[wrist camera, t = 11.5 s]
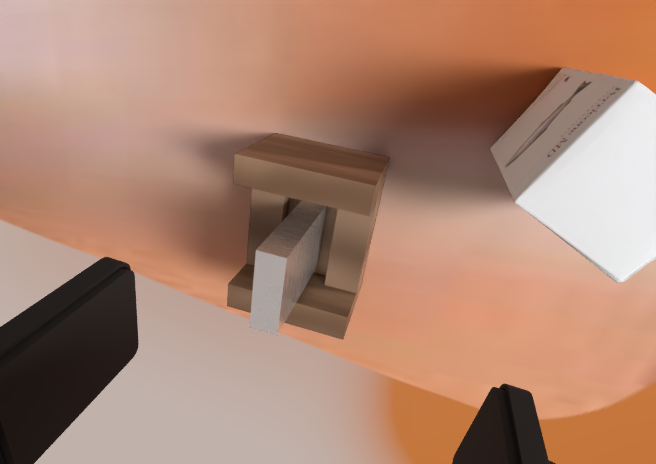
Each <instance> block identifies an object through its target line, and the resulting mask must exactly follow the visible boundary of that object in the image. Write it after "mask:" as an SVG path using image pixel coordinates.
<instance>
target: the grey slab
mask: <svg viewBox="0 0 656 464" xmlns="http://www.w3.org/2000/svg"><path fill="white" fill-rule="evenodd" d="M326 210H327V206H324V205H320V204H315V203H311V202H307V201H303V200H302V201H301V202H300V203H299V204H298V205H297V206H296V207H295V208H294V209H293V211H292V212H291V213H290V214H289V215H288V216H287V217H286V218H285V219H284V220H283V221H282V222H281V224H280V225H279V226H278V227H277V228H276V229H275V230H274V231H273V232H272V233H271V234H270V235H269V236H268V238H267V239H266V240H265V241H264V242H263V243H262V244H261V245H260V246H259V247H258V248H257V249H256V255H255V267H254V279H253V291H252V303H251V315H250V328H254V329H257V330H260V331H264V332H267V333H270V334H274V335H278V333H279V332H280V330H281V328H282V326H283V325H284V323H285V321H286V320H287V318H288V316H289V314H290V313H291V311H292V309H293V307H294V306H295V304H296V302H297V300H298V299H299V297H300V295H301V293H302V292H303V290H304V288H305V286H306V285H307V283H308V281H309V279H310V278H311V276H312V274H313V272H314V271H315V269H316V267H317V265H318V260H319V253H320V247H321V241H322V235H323V229H324V223H325V217H326Z"/></svg>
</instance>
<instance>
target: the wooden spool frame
mask: <svg viewBox="0 0 656 464" xmlns="http://www.w3.org/2000/svg"><path fill="white" fill-rule="evenodd" d="M389 158H390V157H386V156H381V155H376V154H372V153H367V152H362V151H358V150H353V149H348V148H344V147H339V146H334V145H330V144H325V143H320V142H315V141H311V140H306V139H301V138H297V137H292V136H287V135H283V134H278V133H275V134H273V135H271V136H269V137H267V138H265V139H263V140H261V141H259V142H257V143H255V144H253V145H251V146H249V147H247V148H246V149H244V150H242V151H240V152H238V153H236V154H235V155H234V175H233V184H236V185H240V186H244V187H248V188H252V193H251V207H250V222H249V236H248V250H247V264H246V265H245V266H244V267H243V268H242V269H241V270H240V271H239V273H238V274H237V275H236V276H235V277H234V278H233V279H232V280H231V281H230V282H229V284H228V298H227V306H229V307H233V308H236V309H239V310H243V311H246V312H250V313H251V303H252V291H253V279H254V267H255V255H256V249H257V248H258V247H259V246H260V245H261V244H262V243H263V242H264V241H265V240H266V239H267V238H268V236H269V235H270V234H271V233H272V232H273V231H274V230H275V229H276V228H277V227H278V226H279V225H280V224H281V222H282V221H283V220H284V219H285V218H286V217H287V216H288V215H289V214H290V213H291V212H292V211H293V209H294V208H295V207H296V206H297V205H298V204H299V203H300V202H301V201H302V200H303V201H307V202H311V203H315V204H320V205H324V206H327V210H326V217H325V223H324V229H323V235H322V241H321V247H320V253H319V260H318V265H317V267H316V269H315V271H314V272H313V274H312V276H311V278H310V279H309V281H308V283H307V285H306V286H305V288H304V290H303V292H302V293H301V295H300V297H299V299H298V300H297V302H296V304H295V306H294V307H293V309H292V311H291V313H290V314H289V316H288V318H287V320H286V321H285V323H288V324H291V325H294V326H298V327H301V328H305V329H308V330H312V331H315V332H319V333H322V334H325V335H329V336H332V337H336V338H339V339H344V336H345V333H346V330H347V327H348V324H349V321H350V318H351V315H352V312H353V309H354V306H355V303H356V300H357V297H358V294H359V291H360V288H361V284H362V280H363V275H364V271H365V266H366V262H367V257H368V253H369V248H370V243H371V239H372V234H373V230H374V225H375V221H376V216H377V212H378V207H379V203H380V198H381V194H382V189H383V185H384V180H385V176H386V171H387V167H388V162H389Z"/></svg>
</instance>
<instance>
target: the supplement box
mask: <svg viewBox="0 0 656 464" xmlns="http://www.w3.org/2000/svg"><path fill="white" fill-rule="evenodd" d="M490 150H491V153H492V155H493V157H494V159H495V161H496V163H497V165H498V167H499V169H500V171H501V173H502V176H503V178H504V180H505V183H506V185H507V187H508V189H509V191H510V194H511V196H512V198H513V200H514V202H515V203H516V204H517V205H519V206H520V207H521V208H523V209H524V210H525V211H527V212H528V213H529V214H530V215H532V216H533V217H534V218H536V219H537V220H538V221H539V222H541V223H542V224H543V225H545V226H546V227H547V228H548V229H550V230H551V231H552V232H554V233H555V234H556V235H557V236H559V237H560V238H561V239H562V240H564V241H565V242H566V243H567V244H569V245H570V246H571V247H572V248H574V249H575V250H576V251H577V252H579V253H580V254H581V255H582V256H584V257H585V258H586V259H587V260H589V261H590V262H591V263H593V264H594V265H595V266H596V267H598V268H599V269H600V270H602V271H603V272H604V273H605V274H607V275H608V276H609V277H610V278H612V279H613V280H614V281H615V282H618V283H621V282H623V281H625V280H627V279H628V278H629V277H631V276H632V275H634V274H635V273H636V272H638V271H639V270H640V269H641V268H643V267H644V266H645V265H647V264H648V263H649V262H651V261H652V260H654V259H655V258H656V94H654V93H653V92H652V91H650V90H649V89H648V88H646V87H645V86H644V85H642V84H641V83H640V82H638V81H635V80H630V79H625V78H620V77H614V76H609V75H604V74H599V73H592V72H587V71H582V70H577V69H571V68H567V67H563V68H562V69H561V70H560V71H559V72H558V74H557V75H556V76H555V77H554V78H553V80H552V81H551V82H550V83H549V84H548V86H547V87H546V88H545V89H544V90H543V92H542V93H541V94H540V95H539V96H538V97H537V98H536V100H535V101H534V102H533V103H532V104H531V105H530V106H529V107H528V108H527V109H526V111H525V112H524V113H523V114H522V115H521V116H520V117H519V118H518V119H517V120H516V121H515V123H514V124H513V125H512V126H511V127H510V128H509V129H508V130H507V131H506V132H505V133H504V134H503V135H502V136H501V137H500V138H499V139H498V141H497V142H496V143H495V144H494V145H493V146H492V147H491V148H490Z"/></svg>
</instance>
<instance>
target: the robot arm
mask: <svg viewBox="0 0 656 464" xmlns="http://www.w3.org/2000/svg"><path fill="white" fill-rule="evenodd" d="M137 349H138V328H137V310H136V292H135V275H134V272H133V271H131V269H130V266H129V264H127V263H125V262H122V261H118V260H115V259H112V258H109V257H104V258H102V259H100V260H99V261H97V262H96V263H94V264H93V265H91V266H90V267H88V268H87V269H85V270H84V271H82V272H81V273H79V274H78V275H76V276H75V277H74V278H72V279H71V280H69V281H68V282H66V283H65V284H63V285H62V286H60V287H59V288H58V289H56V290H54V291H53V292H52V293H50V294H48V295H47V296H45V297H44V298H43V299H41V300H40V301H38V302H37V303H35V304H34V305H32V306H31V307H29V308H28V309H26V310H25V311H23V312H22V313H20V314H19V315H18V316H16V317H14V318H13V319H12V320H10V321H9V322H7V323H6V324H4V325H3V326H1V327H0V464H34V463H35V462H36V461H37V460H38V458H40V457H41V455H42V454H43V453H44V452H45V451H46V450H47V449H48V448H49V447H50V446H51V445H52V444H53V443H54V442H55V440H56V439H57V438H58V437H59V436H60V435H61V434H62V433H63V432H64V431H65V430H66V429H67V428H68V427H69V426H70V424H71V423H72V422H73V421H74V420H75V419H76V418H77V417H78V416H79V415H80V414H81V413H82V412H83V411H84V409H85V408H86V407H87V406H88V405H89V404H90V403H91V402H92V401H93V400H94V399H95V398H96V397H97V396H98V395H99V394H100V392H101V391H102V390H103V389H104V388H105V387H106V386H107V385H108V384H109V383H110V382H111V381H112V380H113V378H114V377H115V376H116V375H117V374H118V373H119V372H120V371H121V370H122V369H123V368H124V367H125V366H126V364H128V362H129V361H130V360H131V359H132V358H133V357H134V355H135V354H136V352H137ZM452 464H555V463H553V462H551V461H549V460H548V457H547V453H546V449H545V445H544V441H543V437H542V433H541V428H540V425H539V420H538V416H537V412H536V408H535V404H534V400H533V397H532V394H531V393H530V392H529V391H526V390H523V389H520V388H517V387H514V386H511V385H508V384H502V385H501V386H500V388H496V387H493V388H492V389H491V390H490V392H489V394H488V396H487V397H486V399H485V401H484V403H483V405H482V406H481V408H480V410H479V412H478V414H477V415H476V417H475V419H474V421H473V423H472V424H471V426H470V428H469V430H468V432H467V433H466V435H465V437H464V439H463V441H462V442H461V444H460V446H459V448H458V450H457V451H456V453H455V455H454V458H453V463H452Z"/></svg>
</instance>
